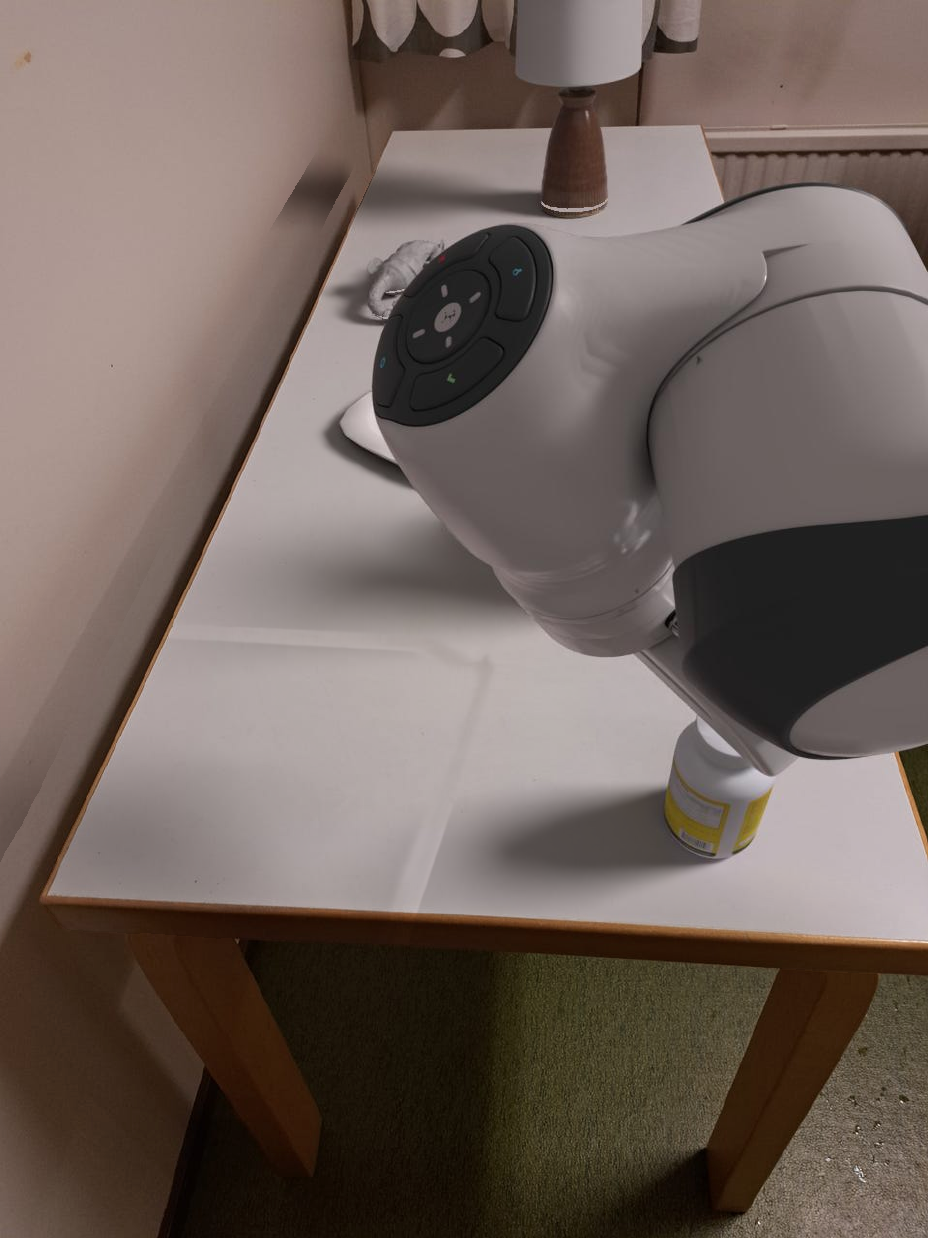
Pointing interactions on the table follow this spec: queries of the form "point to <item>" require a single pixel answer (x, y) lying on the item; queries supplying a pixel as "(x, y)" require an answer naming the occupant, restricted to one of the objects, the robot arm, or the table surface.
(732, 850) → the pill bottle
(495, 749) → the table surface
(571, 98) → the lamp
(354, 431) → the plate
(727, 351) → the robot arm
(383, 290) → the seahorse
